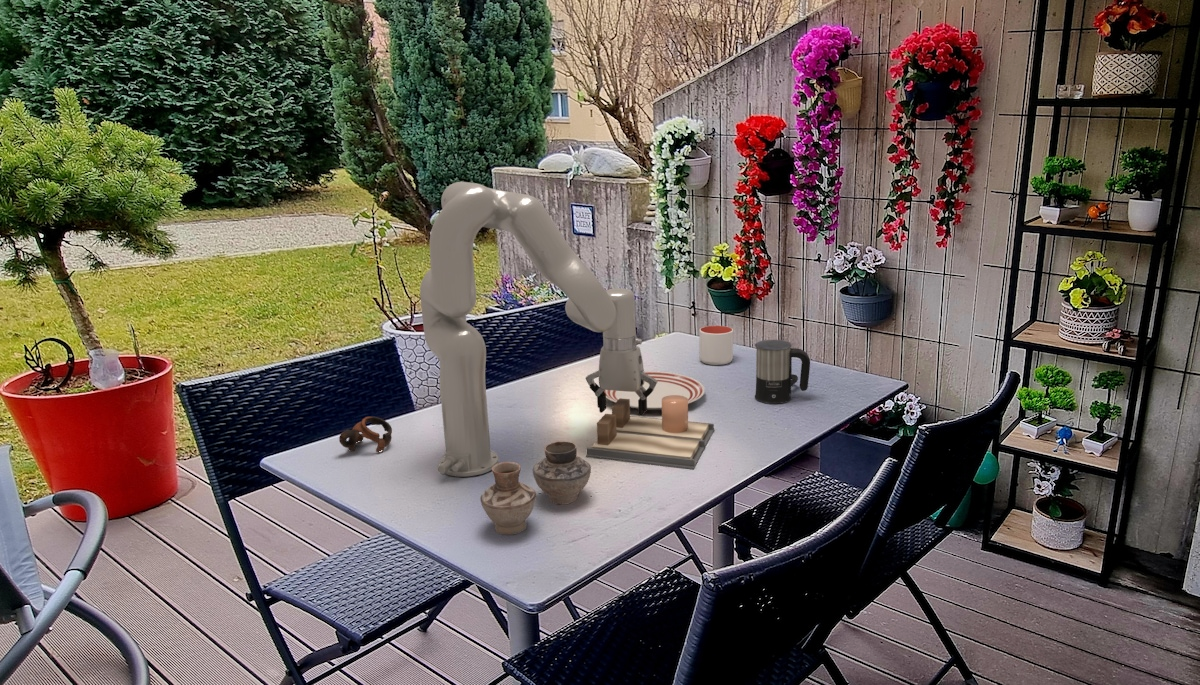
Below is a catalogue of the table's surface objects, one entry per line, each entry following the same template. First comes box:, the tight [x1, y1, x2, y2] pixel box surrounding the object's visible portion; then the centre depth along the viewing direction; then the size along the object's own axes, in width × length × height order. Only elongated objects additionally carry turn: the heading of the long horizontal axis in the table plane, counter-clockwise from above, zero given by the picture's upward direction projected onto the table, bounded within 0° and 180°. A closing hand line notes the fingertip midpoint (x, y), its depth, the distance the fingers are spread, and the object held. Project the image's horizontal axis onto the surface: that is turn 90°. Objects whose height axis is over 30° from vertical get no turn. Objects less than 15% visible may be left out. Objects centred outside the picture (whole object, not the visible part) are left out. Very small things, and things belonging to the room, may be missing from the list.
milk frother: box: [754, 339, 811, 405], centre depth 203 cm, size 14×16×15 cm
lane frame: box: [585, 415, 715, 470], centre depth 176 cm, size 22×24×2 cm
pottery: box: [479, 440, 592, 536], centre depth 145 cm, size 11×25×12 cm, turn 141°
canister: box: [661, 395, 689, 433], centre depth 178 cm, size 6×6×7 cm
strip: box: [591, 413, 699, 459], centre depth 170 cm, size 9×22×6 cm, turn 71°
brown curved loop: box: [338, 415, 393, 453], centre depth 177 cm, size 12×10×8 cm
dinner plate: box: [604, 370, 706, 411], centre depth 205 cm, size 27×27×3 cm
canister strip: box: [611, 398, 709, 440], centre depth 180 cm, size 9×22×6 cm, turn 71°
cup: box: [698, 325, 734, 366], centre depth 233 cm, size 10×10×10 cm
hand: (622, 412), depth 182 cm, fingers open, 9 cm apart
